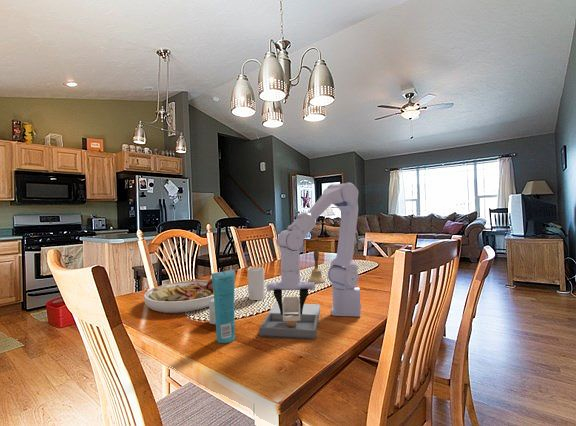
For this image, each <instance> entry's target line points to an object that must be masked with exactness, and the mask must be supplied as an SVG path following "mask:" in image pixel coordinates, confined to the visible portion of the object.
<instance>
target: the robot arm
mask: <svg viewBox="0 0 576 426" xmlns="http://www.w3.org/2000/svg"><path fill="white" fill-rule="evenodd" d="M322 192H323V193H322V194H321V195H320V196H319V198H318V199H317V200H316V202H315V203H314V204H313V205H312V206H311V208H310V209H309V210H308V211H307V212H301V213H298V214H297V215H296V219H294V221H293V222H292V223H291V224H290V225H288V226H287V229H286V230H282V231H281V232H280V233H279V234H278V237H277V239H276V244H277V246H279V251H280V276H281V277H280V278H281V279H280V280H281V282H271V283H266V291H267V292H271V291H273V296H274V298H275V300H276V303H278V305H279V308H280V313H281V315H283V305H282V303H283V291H299V300H300V314H302V310H303V306H304V304H306V303H305V302H306V300H307V298H308V296H309V291H315V290H316V289H315V286H316V283H314V282H308V281H301V272H300V271H301V270H300V267H301V266H300V265H301V264H300V261H301V260H300V248H301V247H303V244H304V240H305V238H306V237H307V236H308V234H309V233H310V232H311V231H312V229H314V228H315V226H316V224H317V222H316V220H317V219H318V218H319V217H320V216H321V215H322V214H324V212H325V211H326V210H327V209H328V208H330V206H331V205H334V206H335V207H336V208H338V209H339V211H340V212H341V217H340V226H339V232H338V233H339V235H338V242H337V251H336V257H335V258H334V259H333V260H332V261H331V263H330V267H329V269H328V272H327V279H328V280H329V282H330V283H331V284H330V285H331V286H332V288H331V289H332V306H331V316H335V317H337V316H338V317H357V318H359V317H362V315H361V309H362V304H361V289H360V287H359V286H357V284H359V283H358V282H359V278H360V277H359V272H358V270H359V266H358V265H357V263H356V262H355V260H353V259H354V252H355V251H354V250H355V243H356V241H355V240H356V235H357V232H356V231H357V226H358V225H357V224H358V217H359V215H358V214H359V203H358V200H359V190H358V188H357V186H355V184H353V183H352V182H346V183H345V182H344V183H337V184H334V183H333V184H328V186H327V187H326V188H325V189H323V191H322Z"/></svg>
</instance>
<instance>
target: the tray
mask: <svg viewBox="0 0 576 426" xmlns="http://www.w3.org/2000/svg"><path fill="white" fill-rule="evenodd" d="M318 327H319V322H318V315H316V316H315V321H303V320H301V321H297V323H296V325H295V326H293V327H289V326H288V325H287V324H286V321H283V320H279V319H271V313H269V312H268V313H267V315H266V316H265V318H264V320H263V321H262V322H261V324H260V326H259V327H258V330H259V331H258V334H259V337H261V338H278V339H279V338H281V339H295V340H296V339H298V340H299V339H301V340H317V334H318Z"/></svg>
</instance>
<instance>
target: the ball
mask: <svg viewBox="0 0 576 426" xmlns="http://www.w3.org/2000/svg"><path fill="white" fill-rule="evenodd" d="M289 316H293V315H289ZM296 323H297V321H286V324H287V325H288V326H289V327H293V326H295V325H296Z"/></svg>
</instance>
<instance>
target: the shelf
mask: <svg viewBox="0 0 576 426" xmlns="http://www.w3.org/2000/svg"><path fill="white" fill-rule="evenodd" d="M282 305H283V302H282ZM268 313H271V319H279V320H283V315H281V313H280V308H279V305H278V302H274V303H273V305H272V307H271V308H270V310H269V312H268ZM320 314H321V304H318V303H317V304H314V303H313V304H312V303H304V306H303V310H302V314H300V320H303V321H315V316H316V315H318V323H319V321H320ZM289 315H293V316H298V312H291V313H284V317H287V316H289Z"/></svg>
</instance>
